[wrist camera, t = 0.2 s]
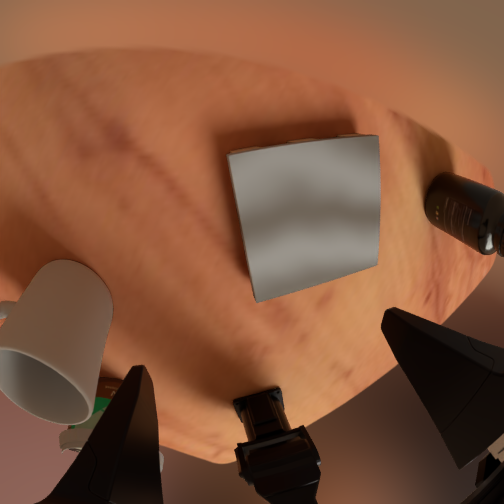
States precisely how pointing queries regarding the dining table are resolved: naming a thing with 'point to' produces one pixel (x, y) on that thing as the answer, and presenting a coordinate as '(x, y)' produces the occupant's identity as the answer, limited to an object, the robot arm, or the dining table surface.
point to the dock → (307, 210)
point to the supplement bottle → (467, 212)
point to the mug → (56, 342)
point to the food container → (92, 418)
